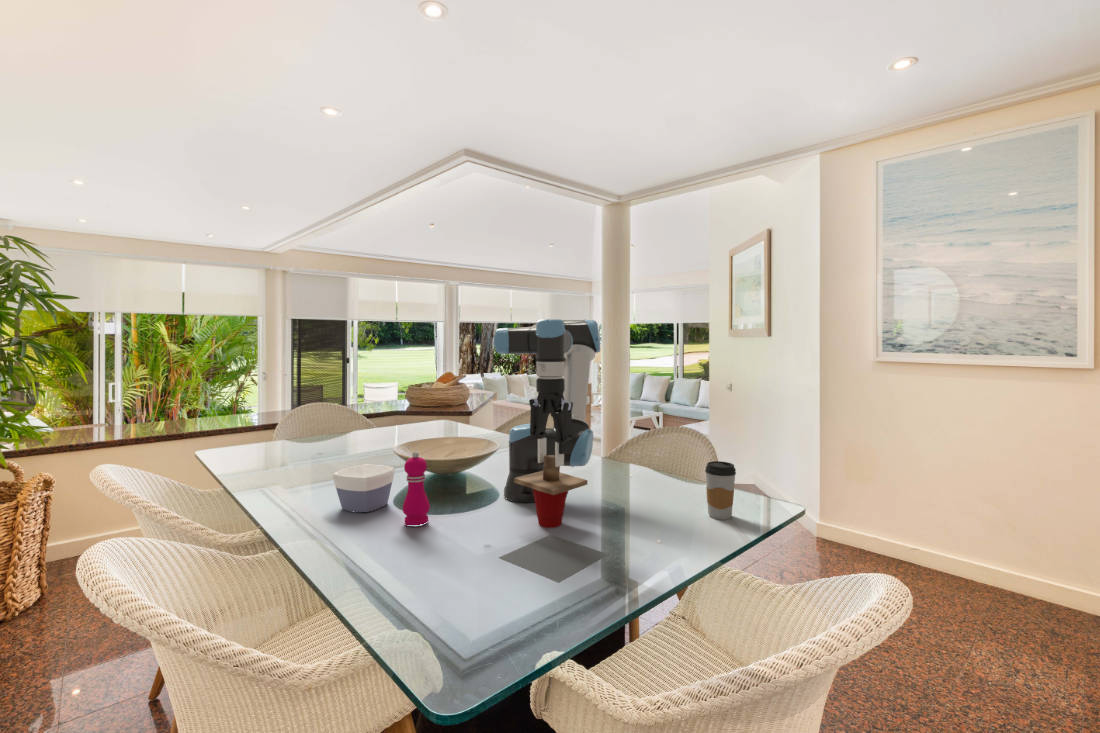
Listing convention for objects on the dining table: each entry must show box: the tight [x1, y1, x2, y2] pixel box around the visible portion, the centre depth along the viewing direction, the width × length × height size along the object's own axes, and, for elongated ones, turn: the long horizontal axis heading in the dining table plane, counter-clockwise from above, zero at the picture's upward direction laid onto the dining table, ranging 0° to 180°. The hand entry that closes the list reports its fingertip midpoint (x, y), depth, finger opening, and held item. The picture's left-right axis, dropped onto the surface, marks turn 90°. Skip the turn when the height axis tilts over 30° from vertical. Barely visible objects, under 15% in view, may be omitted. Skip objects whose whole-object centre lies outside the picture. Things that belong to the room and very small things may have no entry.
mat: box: [498, 534, 609, 583], centre depth 116 cm, size 18×18×1 cm
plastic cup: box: [532, 488, 569, 529], centre depth 136 cm, size 11×11×12 cm
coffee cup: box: [704, 460, 737, 521], centre depth 144 cm, size 8×8×15 cm
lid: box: [514, 455, 588, 495], centre depth 136 cm, size 14×14×7 cm
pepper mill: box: [402, 451, 431, 526], centre depth 139 cm, size 7×7×20 cm
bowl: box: [332, 464, 396, 513], centre depth 154 cm, size 15×15×11 cm
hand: (550, 463), depth 136 cm, fingers open, 5 cm apart
